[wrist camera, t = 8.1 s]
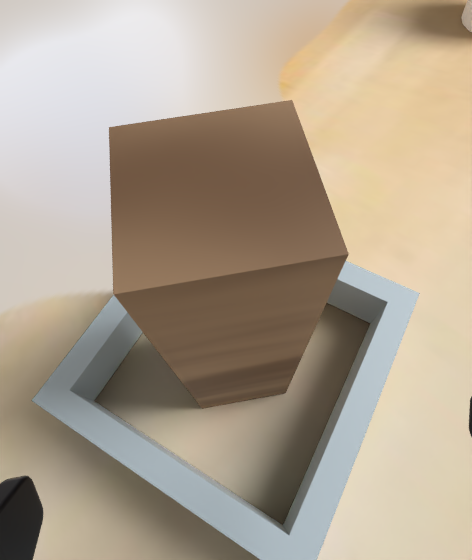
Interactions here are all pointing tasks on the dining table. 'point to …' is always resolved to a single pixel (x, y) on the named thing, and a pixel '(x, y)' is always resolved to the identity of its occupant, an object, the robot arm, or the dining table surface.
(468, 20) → the white cup
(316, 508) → the frame
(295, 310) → the tall wooden post
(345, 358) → the dining table surface
